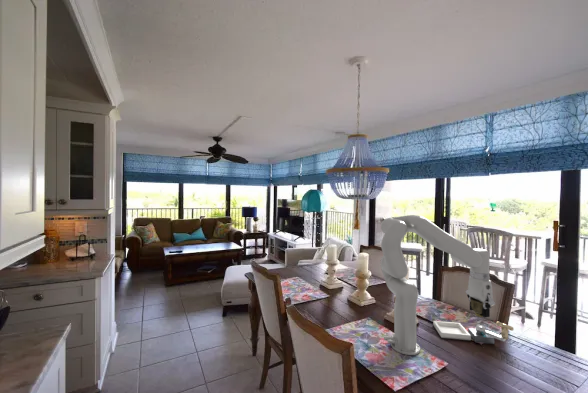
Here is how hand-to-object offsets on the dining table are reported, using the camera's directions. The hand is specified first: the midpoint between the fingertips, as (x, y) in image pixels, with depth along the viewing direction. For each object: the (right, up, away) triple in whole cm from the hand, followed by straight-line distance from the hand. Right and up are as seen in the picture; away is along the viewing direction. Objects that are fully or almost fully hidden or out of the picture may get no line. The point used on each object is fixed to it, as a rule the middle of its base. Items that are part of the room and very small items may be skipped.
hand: (479, 313), depth 125 cm
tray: (-6, -15, +12) cm, 20 cm away
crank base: (+5, -15, +6) cm, 17 cm away
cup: (0, -2, 0) cm, 2 cm away
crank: (+7, -12, +1) cm, 14 cm away
